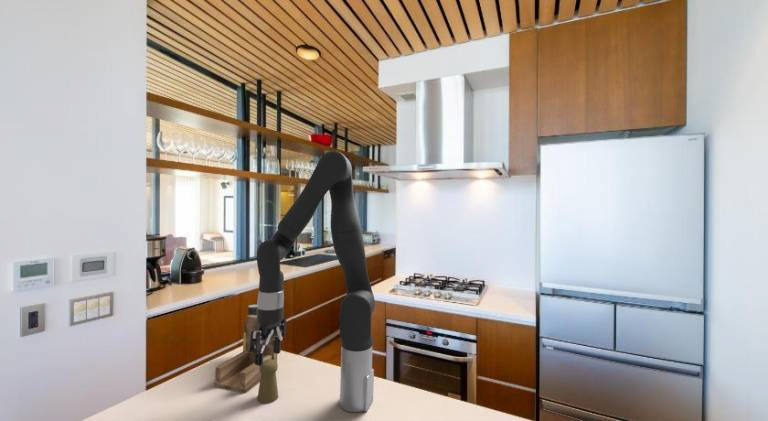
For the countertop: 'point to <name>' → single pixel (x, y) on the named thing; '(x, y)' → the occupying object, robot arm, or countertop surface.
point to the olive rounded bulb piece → (268, 382)
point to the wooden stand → (243, 364)
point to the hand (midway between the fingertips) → (268, 358)
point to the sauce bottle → (251, 311)
